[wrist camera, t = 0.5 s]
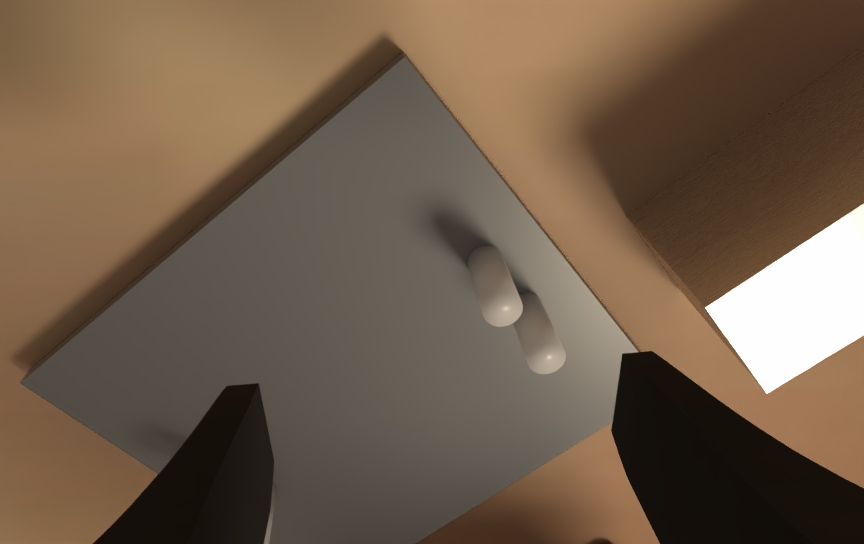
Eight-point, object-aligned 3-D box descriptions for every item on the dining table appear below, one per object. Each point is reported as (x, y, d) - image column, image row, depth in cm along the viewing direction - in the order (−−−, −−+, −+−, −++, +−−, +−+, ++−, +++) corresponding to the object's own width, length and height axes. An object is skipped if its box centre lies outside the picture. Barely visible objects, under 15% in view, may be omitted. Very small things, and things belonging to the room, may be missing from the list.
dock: (658, 375, 26) (702, 443, 23) (338, 575, 30) (336, 658, 27) (403, 51, 19) (412, 81, 16) (30, 368, 23) (-26, 445, 20)
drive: (937, 115, 22) (1119, 179, 17) (679, 288, 24) (767, 393, 19) (899, 17, 20) (1088, 55, 15) (625, 215, 23) (705, 307, 17)
